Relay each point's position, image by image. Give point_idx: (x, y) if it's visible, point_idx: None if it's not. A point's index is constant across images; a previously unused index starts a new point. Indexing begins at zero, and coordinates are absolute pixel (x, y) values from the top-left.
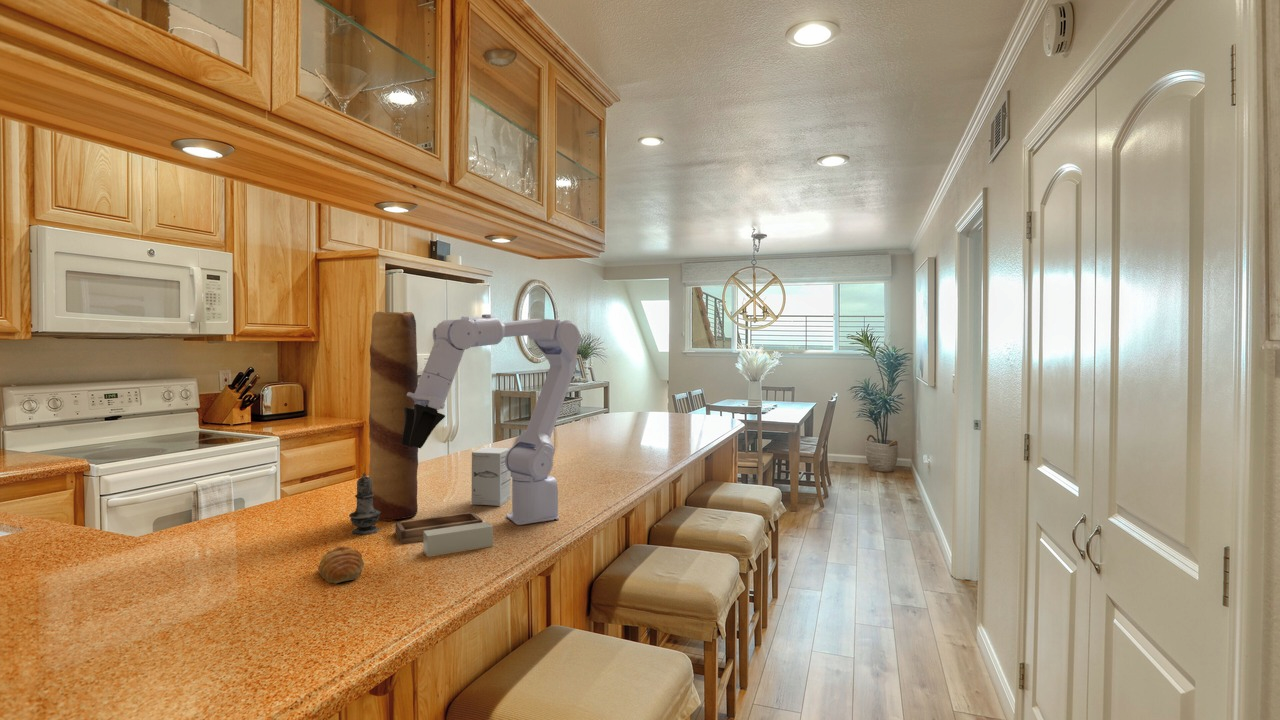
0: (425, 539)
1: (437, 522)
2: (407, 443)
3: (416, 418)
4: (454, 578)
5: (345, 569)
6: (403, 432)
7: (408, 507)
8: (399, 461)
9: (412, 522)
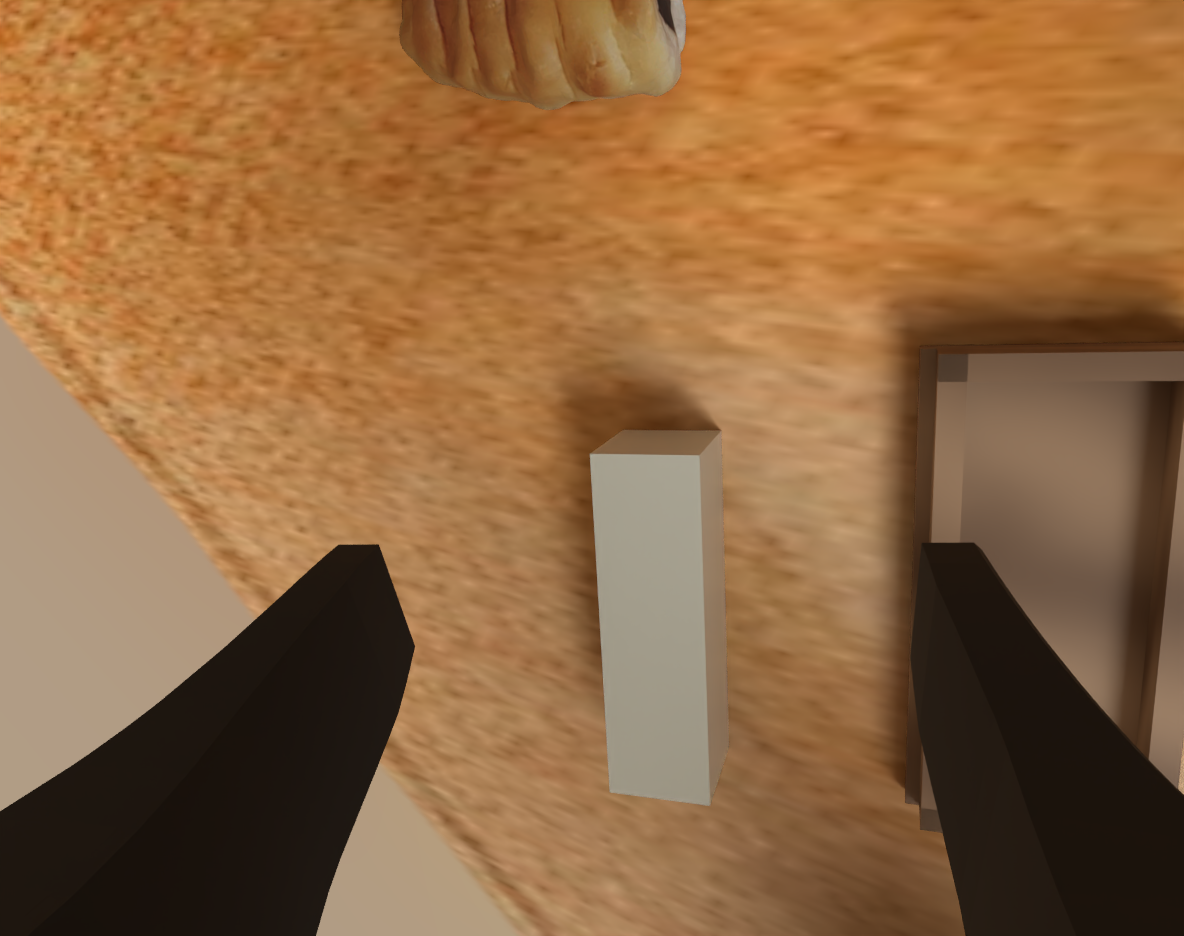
0: (648, 447)
1: (1153, 616)
2: (923, 618)
3: (7, 811)
4: (320, 470)
5: (414, 13)
6: (1024, 652)
7: None
8: None
9: (1174, 461)
